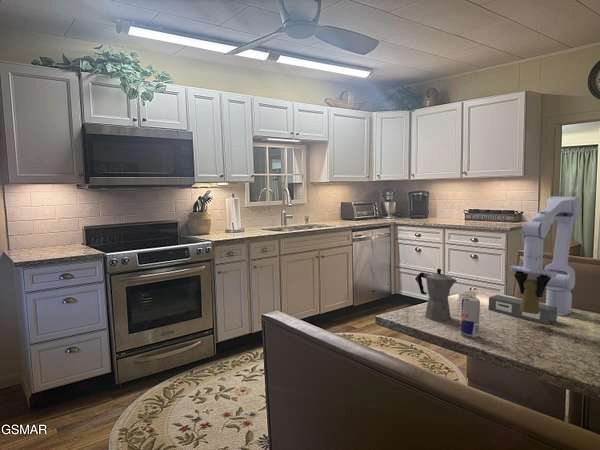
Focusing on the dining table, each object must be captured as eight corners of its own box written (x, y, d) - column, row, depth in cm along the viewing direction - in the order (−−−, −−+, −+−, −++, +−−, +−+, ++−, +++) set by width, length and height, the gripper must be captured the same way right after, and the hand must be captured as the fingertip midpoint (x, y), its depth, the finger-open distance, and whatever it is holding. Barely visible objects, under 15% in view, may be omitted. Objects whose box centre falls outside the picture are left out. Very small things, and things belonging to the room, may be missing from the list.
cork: (542, 314, 141) (545, 282, 140) (523, 312, 142) (526, 280, 141) (535, 309, 147) (538, 279, 146) (517, 308, 148) (519, 277, 147)
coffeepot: (460, 318, 152) (462, 269, 150) (448, 324, 145) (450, 273, 144) (422, 309, 163) (423, 263, 161) (409, 314, 156) (410, 267, 155)
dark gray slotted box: (496, 307, 166) (497, 294, 165) (556, 321, 148) (557, 307, 148) (488, 309, 162) (488, 297, 162) (548, 324, 144) (549, 310, 144)
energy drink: (457, 332, 136) (459, 296, 135) (473, 332, 137) (474, 296, 136) (465, 338, 131) (466, 301, 130) (481, 338, 132) (483, 300, 131)
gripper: (506, 254, 146) (504, 292, 148) (550, 260, 135) (548, 301, 136) (516, 252, 150) (514, 289, 152) (560, 258, 139) (558, 298, 140)
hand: (531, 295), depth 144 cm, fingers closed on cork, 5 cm apart
